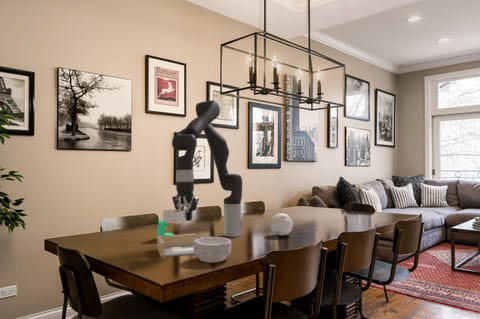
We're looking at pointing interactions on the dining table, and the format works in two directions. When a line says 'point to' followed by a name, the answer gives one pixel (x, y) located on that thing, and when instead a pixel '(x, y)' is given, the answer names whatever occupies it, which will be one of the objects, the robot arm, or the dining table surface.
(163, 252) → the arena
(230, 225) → the robot arm
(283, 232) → the decorative ball
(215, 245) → the white marbled bowl
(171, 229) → the dining table surface
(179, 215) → the aluminium bracket
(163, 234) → the camera mount
